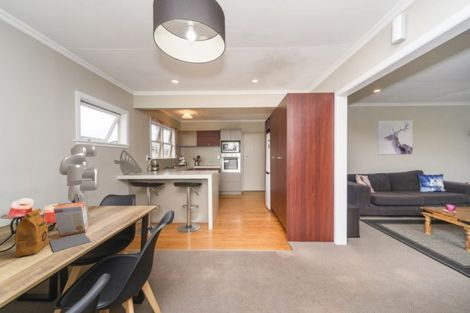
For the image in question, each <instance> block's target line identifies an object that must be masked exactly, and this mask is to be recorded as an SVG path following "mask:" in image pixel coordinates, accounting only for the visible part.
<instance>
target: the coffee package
mask: <svg viewBox="0 0 470 313" xmlns="http://www.w3.org/2000/svg"><path fill="white" fill-rule="evenodd" d="M42 211H43V209H41V208H36V209H35V210H32V211H29V212H27V213H26V214H25V215H24V216H23V217H22V219H21V220H20V221H19V223H18V224H17V226H16V231H15V258H20V257H24V256H28V255H29V256H30V255H33V254H37V253H39V251H41V250H43V249H44V248H46V246H48V244H49V236H48V235H49V234H48V233H49V226H48V222H46V220H45V219H44V218H43V217H42V215H41V213H42Z"/></svg>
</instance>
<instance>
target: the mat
mask: <svg viewBox="0 0 470 313" xmlns="http://www.w3.org/2000/svg"><path fill="white" fill-rule="evenodd" d="M88 243H92V241H91V239H90V238H89V236H88V235H87V234H86V233H80V234H72V235H68V236H66V237H62V238H59V239H54V240H51V241H49V244H50V247H51V249H52V251H53V253H58V252H60V251H64V250H68V249H70V248H74V247H77V246H81V245H85V244H88Z"/></svg>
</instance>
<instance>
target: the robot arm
mask: <svg viewBox="0 0 470 313" xmlns="http://www.w3.org/2000/svg"><path fill="white" fill-rule="evenodd" d="M97 155H98V150H97V147H96V146H95V145H94V144H87V143H86V144H85V143H84V144H83V143H79V144H75V145H74V146H72V147H71V148H70V155H68V156H67V157H65V158H63V159H62V160H61V162H60V165H59V170H58V171H59V172H58V173H59V174H60V175H62V176H66V187H68V190H67V194H68V195H67V199H68V201H70V203H77V202H85V207H86V214H87V219H88V218H90V217H91V214H89V196H88V194H87V193H86V192H93V191H97V190H99V179H100V176H99V175H100V174H99V173H100V172H99V170H98V168H97V167H93V166H92V167H89V162H88V161H87V158H95V157H96V156H97Z"/></svg>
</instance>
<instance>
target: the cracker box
mask: <svg viewBox="0 0 470 313" xmlns="http://www.w3.org/2000/svg"><path fill="white" fill-rule="evenodd" d="M53 212H54V216H55V222H56V223H55V224H56V226H57V231H58V232H57V233H58V236H59V237H64V236H73V235H77V234H81V233H85V234H86V232H87V230H88V229H89V220H88V218H87V214H86V207H85V202H77V203H71V202H67V203H66V202H65V203H57V205H56V206H55V207H54V208H53Z"/></svg>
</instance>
